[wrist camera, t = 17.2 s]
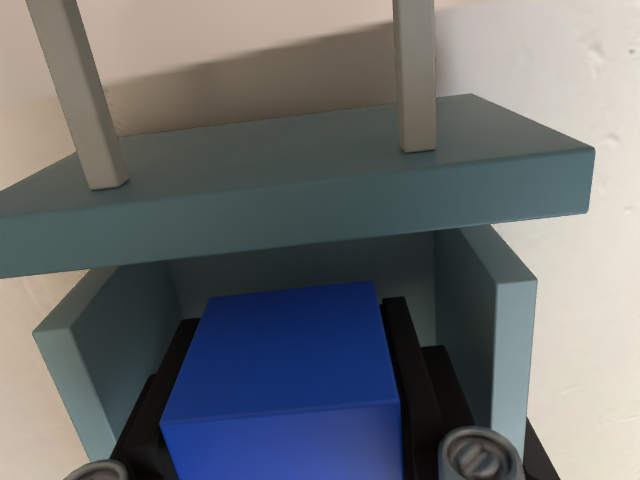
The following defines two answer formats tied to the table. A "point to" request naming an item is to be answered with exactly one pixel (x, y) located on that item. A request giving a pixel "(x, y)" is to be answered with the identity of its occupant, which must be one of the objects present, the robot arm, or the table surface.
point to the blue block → (287, 389)
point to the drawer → (286, 224)
